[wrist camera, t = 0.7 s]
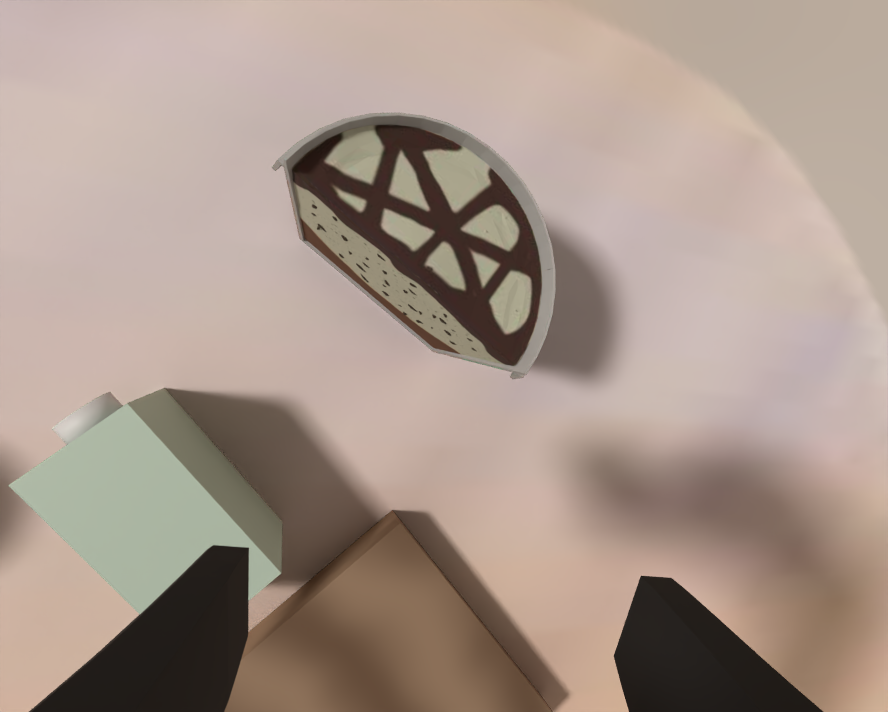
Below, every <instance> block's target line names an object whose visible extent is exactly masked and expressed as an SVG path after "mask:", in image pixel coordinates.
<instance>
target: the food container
mask: <svg viewBox="0 0 888 712" xmlns="http://www.w3.org/2000/svg"><path fill="white" fill-rule="evenodd" d="M280 166H283V167H284V170H285V175H286V179H287V184H288V188H289V193H290V197H291V202H292V206H293V211H294V215H295V220H296V224H297V229H298V233H299V238H300V239H301V240H302V241H303V242H304V243H305V244H307V245H308V246H309V247H310V248H311V249H312V250H314V251H315V252H316V253H317V254H318V255H320V256H321V257H322V258H323V259H324V260H325V261H327V262H328V263H329V264H330V265H331V266H333V267H334V268H335V269H336V270H337V271H338V272H340V273H341V274H342V275H343V276H344V277H346V278H347V279H348V280H349V281H350V282H351V283H353V284H354V285H355V286H356V287H357V288H358V289H360V290H361V291H362V292H363V293H364V294H366V295H367V296H368V297H369V298H370V299H371V300H373V301H374V302H375V303H376V304H377V305H379V306H380V307H381V308H382V309H383V310H384V311H386V312H387V313H388V314H389V315H390V316H392V317H393V318H394V319H395V320H396V321H397V322H399V323H400V324H401V325H402V326H403V327H405V328H406V329H407V330H408V331H409V332H410V333H412V334H413V335H414V336H415V337H416V338H417V339H419V340H420V341H421V342H422V343H423V344H425V345H426V346H427V347H428V348H429V349H430V350H432V351H433V352H436V353H440V354H444V355H448V356H452V357H456V358H460V359H463V360H467V361H471V362H475V363H479V364H483V365H487V366H491V367H494V368H498V369H502V370H506V371H510V372H512V374H511V376H510V377H511V378H512V379H517V378H523V377H524V376H525V375H526V374H527V373H528V371H529V370H530V368H531V366H532V365H533V363H534V361H535V360H536V358H537V356H538V354H539V352H540V350H541V347H542V345H543V343H544V340H545V338H546V336H547V332H548V329H549V325H550V321H551V318H552V314H553V307H554V299H555V292H556V289H555V263H554V256H553V249H552V244H551V240H550V237H549V234H548V230H547V227H546V223H545V221H544V219H543V216H542V214H541V212H540V210H539V207H538V205H537V203H536V201H535V199H534V198H533V196H532V194H531V193H530V191H529V190H528V188H527V186H526V185H525V183H524V182H523V180H522V179H521V178H520V177H519V176H518V174H517V173H516V172H515V171H514V170H513V168H512V167H511V166H510V165H509V164H508V162H506V161H505V160H504V159H503V158H502V157H501V156H500V155H499V154H497V153H496V152H495V151H494V150H493V149H492V148H491V147H490V146H488V145H487V144H485V143H484V142H482V141H481V140H479V139H478V138H476V137H475V136H473V135H472V134H470V133H468V132H466V131H464V130H462V129H460V128H458V127H455V126H453V125H451V124H449V123H447V122H443V121H440V120H436V119H433V118H429V117H426V116H421V115H413V114H405V113H372V114H365V115H360V116H355V117H351V118H346V119H342V120H340V121H337V122H335V123H332V124H330V125H327V126H325V127H322V128H320V129H318V130H316V131H315V132H313V133H312V134H310V135H308V136H307V137H305V138H304V139H302V140H300V141H299V142H297V143H296V144H295V145H294V146H293V147H291V148H290V149H289V150H288V151H287V152H286V153H285V154H284V155H282V156H281V157H280V158H279V159H278V160H277V161H276V163H275V164H274V165H273V167H272V168H273V169H274V170H275V171H276V170H277V169H278V168H279V167H280Z"/></svg>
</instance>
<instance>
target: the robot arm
mask: <svg viewBox="0 0 888 712" xmlns="http://www.w3.org/2000/svg"><path fill="white" fill-rule="evenodd" d="M248 593H249V548H247V547H233V546H219V545H213V546H211V547H210V548H208V549H207V550H206V551H205V552H204V553H203V554H202V555H201V556H200V557H199V558H198V559H197V560H196V561H195V562H194V563H193V564H192V565H191V566H190V567H189V568H188V569H187V570H186V571H185V572H184V573H183V574H182V575H181V576H180V577H179V578H178V579H176V580H175V581H174V582H173V583H172V584H171V585H170V586H169V587H168V588H167V589H166V590H165V591H164V592H163V593H162V594H161V595H160V596H159V597H158V598H157V599H156V600H155V601H154V602H153V603H152V604H151V605H149V606H148V607H147V608H146V609H145V610H144V611H143V612H142V613H141V614H140V615H139V616H138V617H137V618H136V619H134V620H133V621H132V622H131V623H130V624H129V625H128V626H127V627H126V628H125V629H124V630H122V631H121V632H120V633H119V634H118V635H117V636H116V637H115V638H114V639H113V640H111V641H110V642H109V643H108V644H107V645H106V646H105V647H104V648H103V649H102V650H101V651H99V652H98V653H97V654H96V655H95V656H94V657H93V658H92V659H90V660H89V661H88V662H87V663H86V664H85V665H83V666H82V667H81V668H80V669H79V670H78V671H76V672H75V673H74V674H73V675H72V676H70V677H69V678H68V679H67V680H66V681H65V682H63V683H62V684H61V685H60V686H59V687H58V688H56V689H55V690H54V691H53V692H52V693H50V694H49V695H48V696H47V697H46V698H45V699H43V700H42V701H41V702H40V703H39V704H38V705H36V706H35V707H34V708H33V709H32V710H30V711H29V712H224V711H225V709H226V706H227V704H228V701H229V698H230V695H231V691H232V688H233V685H234V682H235V679H236V675H237V672H238V669H239V665H240V662H241V658H242V655H243V652H244V648H245V645H246V641H247V638H248ZM614 659H615V663H616V666H617V670H618V674H619V678H620V682H621V685H622V689H623V692H624V696H625V699H626V703H627V706H628V709H629V712H823V711H822V710H821V709H819V708H818V707H817V706H816V705H815V704H814V703H812V702H811V701H810V700H809V699H808V698H807V697H805V696H804V695H803V694H802V693H801V692H800V691H799V690H797V689H796V688H795V687H794V686H793V685H792V684H791V683H789V682H788V681H787V680H786V679H785V678H784V677H783V676H781V675H780V674H779V673H778V672H777V671H776V670H775V669H774V668H772V667H771V666H770V665H769V664H768V663H767V662H766V661H765V660H763V659H762V658H761V657H760V656H759V655H758V654H757V653H756V652H754V651H753V650H752V649H751V648H750V647H749V646H748V645H747V644H746V643H744V642H743V641H742V640H741V639H740V638H739V637H738V636H737V635H736V634H735V633H733V632H732V631H731V630H730V629H729V628H728V627H727V626H726V625H725V624H724V623H722V622H721V621H720V620H719V619H718V618H717V617H716V616H715V615H714V614H712V613H711V612H710V611H709V610H708V609H707V608H706V607H705V606H704V605H702V604H701V603H700V602H699V601H698V600H697V599H696V598H695V597H693V596H692V595H691V594H690V593H689V592H688V591H687V590H685V589H684V588H683V587H682V586H681V585H679V584H678V583H677V582H676V581H675V580H673V579H672V578H664V577H650V576H641V577H640V580H639V583H638V586H637V589H636V592H635V595H634V598H633V601H632V604H631V607H630V610H629V613H628V616H627V618H626V621H625V624H624V627H623V630H622V633H621V636H620V639H619V642H618V645H617V648H616V651H615V654H614Z"/></svg>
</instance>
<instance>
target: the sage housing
mask: <svg viewBox="0 0 888 712" xmlns="http://www.w3.org/2000/svg"><path fill="white" fill-rule="evenodd" d="M52 430H53V431H54V432H55V433H56V434H57V435H58V436H59V437H60V438H61V439H62V440H63V441H64V442H65V443H66V444H67V445H66V446H65V447H63V448H62V449H60V450H59V451H57V452H56V453H55V454H53V455H52V456H50V457H49V458H47V459H46V460H44V461H43V462H42V463H40V464H39V465H37V466H36V467H34V468H33V469H31V470H30V471H29V472H27V473H26V474H24V475H23V476H21V477H20V478H18V479H17V480H15V481H14V482H13V483H11V484H10V485H8V486H9V487H10V488H11V489H12V490H13V491H14V492H15V493H16V494H18V495H19V496H20V497H21V498H22V499H23V500H24V501H25V502H26V503H27V504H28V505H29V506H30V507H31V508H32V509H33V510H34V511H35V512H36V513H37V514H38V515H39V516H40V517H41V518H42V519H43V520H44V521H45V522H46V523H47V524H48V525H49V526H50V527H51V528H52V529H53V530H54V531H55V532H56V533H57V534H58V535H59V536H60V537H61V538H62V539H63V540H64V541H65V542H67V543H68V544H69V545H70V546H71V547H72V548H73V549H74V550H75V551H76V552H77V553H78V554H79V555H80V556H81V557H82V558H83V559H84V560H85V561H86V562H87V563H88V564H89V565H90V566H91V567H92V568H93V569H94V570H95V571H96V572H97V573H98V574H99V575H100V576H101V577H102V578H103V579H104V580H105V581H106V582H107V583H108V584H109V585H110V586H111V587H112V588H113V589H114V590H116V591H117V592H118V593H119V594H120V595H121V596H122V597H123V598H124V599H125V600H126V601H127V602H128V603H129V604H130V605H131V606H132V607H133V608H134V609H135V610H136V611H137V612H138V613H139V614H141V613H142V612H143V611H144V610H145V609H146V608H147V607H148V606H149V605H151V604H152V603H153V602H154V601H155V600H156V599H157V598H158V597H159V596H160V595H161V594H162V593H163V592H164V591H165V590H166V589H167V588H168V587H169V586H170V585H171V584H172V583H173V582H174V581H175V580H176V579H178V578H179V577H180V576H181V575H182V574H183V573H184V572H185V571H186V570H187V569H188V568H189V567H190V566H191V565H192V564H193V563H194V562H195V561H196V560H197V559H198V558H199V557H200V556H201V555H202V554H203V553H204V552H205V551H206V550H207V549H208V548H210V547H211V546H213V545H219V546H233V547H247V548H249V593H248V601H249V600H250V599H251V598H253V597H254V596H255V595H256V594H257V593H259V592H260V591H261V590H262V589H263V588H264V587H266V586H267V585H268V584H269V583H270V582H272V581H273V580H274V579H275V578H276V577H278V576H279V575H280V574H281V569H282V525H283V522H282V521H281V520H280V518H279V517H278V516H277V515H276V514H275V513H274V512H273V511H272V509H271V508H270V507H269V506H268V505H267V504H266V503H265V501H264V500H263V499H262V498H261V497H260V496H259V495H258V494H257V492H256V491H255V490H254V489H253V488H252V487H251V486H250V484H249V483H248V482H247V481H246V480H245V479H244V478H243V476H242V475H241V474H240V473H239V472H238V471H237V470H236V469H235V467H234V466H233V465H232V464H231V463H230V462H229V461H228V459H227V458H226V457H225V456H224V455H223V454H222V453H221V451H220V450H219V449H218V448H217V447H216V446H215V445H214V444H213V442H212V441H211V440H210V439H209V438H208V437H207V436H206V434H205V433H204V432H203V431H202V430H201V429H200V428H199V426H198V425H197V424H196V423H195V422H194V421H193V420H192V419H191V417H190V416H189V415H188V414H187V413H186V412H185V411H184V409H183V408H182V407H181V406H180V405H179V404H178V403H177V402H176V400H175V399H174V398H173V397H172V396H171V395H170V394H169V392H168V391H167V390H166V389H165V388H163V389H161V390H158V391H156V392H154V393H151V394H149V395H146V396H144V397H141V398H139V399H137V400H134V401H132V402H129V403H127V404H126V405H124V406H123V405H122V404H121V403H120V402H119V401H118V400H117V399H116V398H115V397H114V396H113V395H112V393H111V392H108V393H106V394H103V395H102V396H100V397H98V398H96V399H94V400H92V401H91V402H89V403H87V404H86V405H84V406H82V407H81V408H79V409H78V410H76V411H75V412H73V413H72V414H70V415H69V416H67V417H66V418H64V419H63V420H62V421H60V422H59V423H58V424H56V425H55V426H54V427H53V428H52Z"/></svg>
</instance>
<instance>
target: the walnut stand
mask: <svg viewBox="0 0 888 712" xmlns="http://www.w3.org/2000/svg"><path fill="white" fill-rule="evenodd" d="M224 712H552V710H551V709H550V707H549V706H548V705H547V703H546V702H545V700H544V699H543V698H542V696H541V695H540V694H539V692H538V691H537V690H536V689H535V687H534V686H533V685H532V684H531V682H530V681H529V680H528V679H527V677H526V676H525V675H524V674H523V672H522V671H521V670H520V669H519V667H518V666H517V665H516V664H515V662H514V661H513V660H512V659H511V657H510V656H509V655H508V654H507V652H506V651H505V650H504V649H503V647H502V646H501V645H500V644H499V642H498V641H497V640H496V639H495V638H494V636H493V635H492V634H491V633H490V631H489V630H488V629H487V628H486V626H485V625H484V624H483V623H482V621H481V620H480V619H479V618H478V616H477V615H476V614H475V613H474V611H473V610H472V609H471V608H470V606H469V605H468V604H467V603H466V601H465V600H464V599H463V598H462V596H461V595H460V594H459V593H458V591H457V590H456V589H455V588H454V586H453V585H452V584H451V583H450V581H449V580H448V579H447V578H446V576H445V575H444V574H443V573H442V571H441V570H440V569H439V568H438V566H437V565H436V564H435V563H434V561H433V560H432V559H431V558H430V556H429V555H428V554H427V553H426V551H425V550H424V549H423V548H422V546H421V545H420V544H419V543H418V541H417V540H416V539H415V538H414V536H413V535H412V534H411V533H410V531H409V530H408V529H407V528H406V526H405V525H404V524H403V523H402V521H401V520H400V519H399V518H398V516H397V515H396V514H395V513H394V511H393V510H392V511H391V512H390V513H389V514H387V515H386V516H385V517H384V518H383V519H381V520H380V521H379V522H378V523H377V524H376V525H374V526H373V527H372V528H371V529H370V530H369V531H367V532H366V533H365V534H364V535H363V536H361V537H360V538H359V539H358V540H357V541H356V542H354V543H353V544H352V545H351V546H350V547H349V548H347V549H346V550H345V551H344V552H343V553H341V554H340V555H339V556H338V557H337V558H336V559H334V560H333V561H332V562H331V563H330V564H328V565H327V566H326V567H325V568H324V569H323V570H321V571H320V572H319V573H318V574H317V575H316V576H314V577H313V578H312V579H311V580H310V581H308V582H307V583H306V584H305V585H304V586H303V587H301V588H300V589H299V590H298V591H297V592H296V593H294V594H293V595H292V596H291V597H290V598H288V599H287V600H286V601H285V602H284V603H283V604H281V605H280V606H279V607H278V608H277V609H276V610H274V611H273V612H272V613H271V614H270V615H268V616H267V617H266V618H265V619H264V620H263V621H261V622H260V623H259V624H258V625H257V626H255V627H254V628H253V629H252V630H251V631H250V632H248V638H247V641H246V645H245V648H244V652H243V655H242V658H241V662H240V665H239V669H238V672H237V675H236V679H235V682H234V685H233V688H232V691H231V695H230V698H229V701H228V704H227V706H226V709H225V711H224Z"/></svg>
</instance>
